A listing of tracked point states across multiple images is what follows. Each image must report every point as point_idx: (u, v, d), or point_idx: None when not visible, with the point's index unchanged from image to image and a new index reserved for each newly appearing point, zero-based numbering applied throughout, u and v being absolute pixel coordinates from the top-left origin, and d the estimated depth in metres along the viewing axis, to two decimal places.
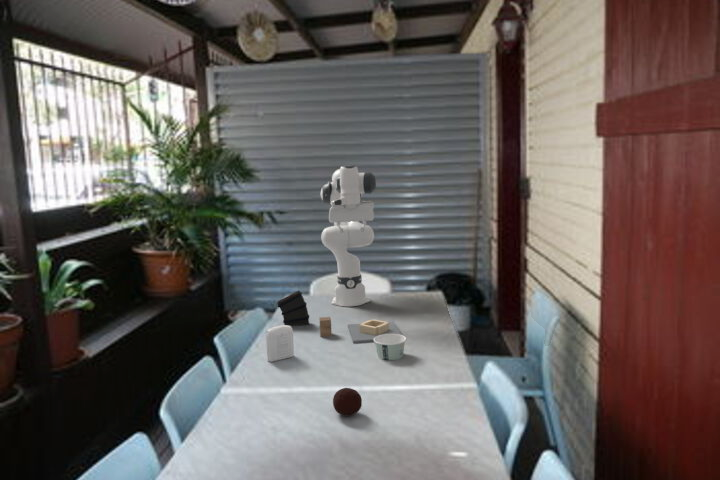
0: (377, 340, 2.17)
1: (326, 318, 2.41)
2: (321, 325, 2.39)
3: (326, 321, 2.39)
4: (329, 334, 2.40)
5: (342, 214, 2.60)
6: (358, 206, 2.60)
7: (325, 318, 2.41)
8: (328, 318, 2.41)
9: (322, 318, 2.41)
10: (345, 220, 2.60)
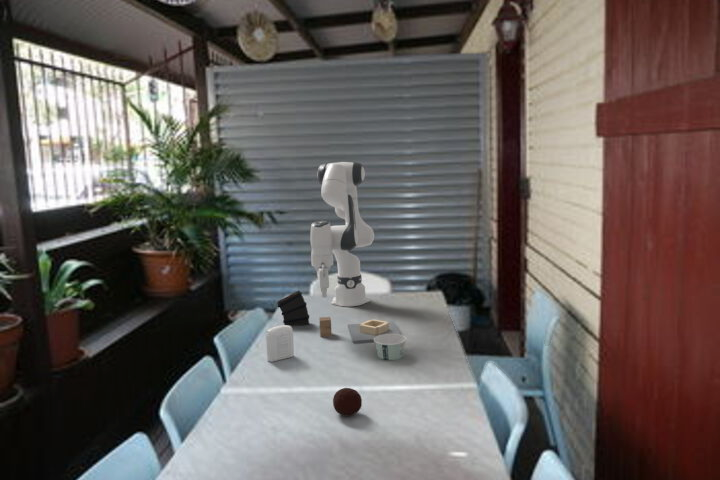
0: (377, 340, 2.17)
1: (326, 318, 2.41)
2: (321, 325, 2.39)
3: (326, 321, 2.39)
4: (329, 334, 2.40)
5: (318, 273, 2.42)
6: (318, 269, 2.34)
7: (325, 318, 2.41)
8: (328, 318, 2.41)
9: (322, 318, 2.41)
10: None
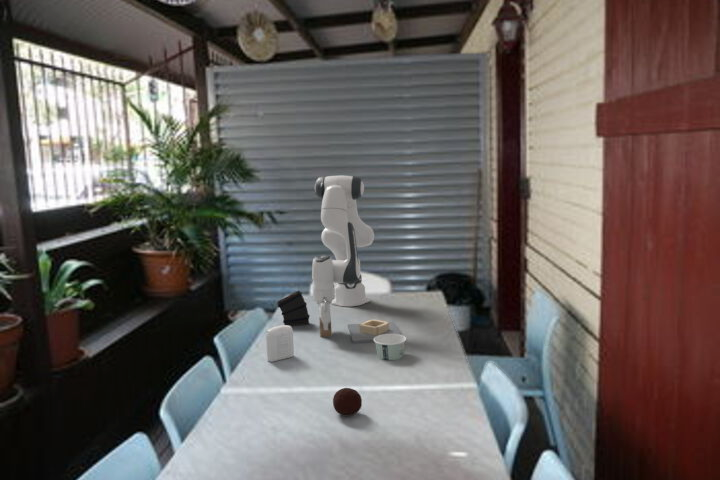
0: (377, 340, 2.17)
1: None
2: (321, 325, 2.39)
3: None
4: (329, 334, 2.40)
5: None
6: (320, 303, 2.37)
7: None
8: None
9: None
10: None
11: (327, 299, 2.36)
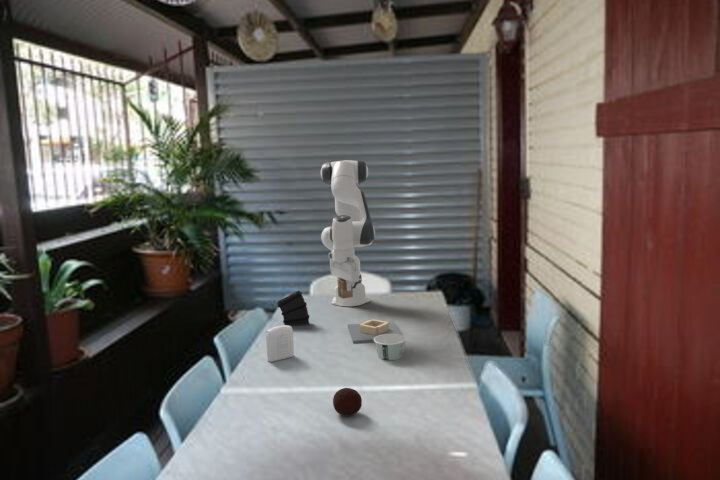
0: (377, 340, 2.17)
1: None
2: (343, 287, 2.36)
3: None
4: (350, 295, 2.38)
5: (336, 268, 2.41)
6: (343, 264, 2.34)
7: None
8: None
9: (342, 280, 2.38)
10: (337, 275, 2.40)
11: (351, 259, 2.34)
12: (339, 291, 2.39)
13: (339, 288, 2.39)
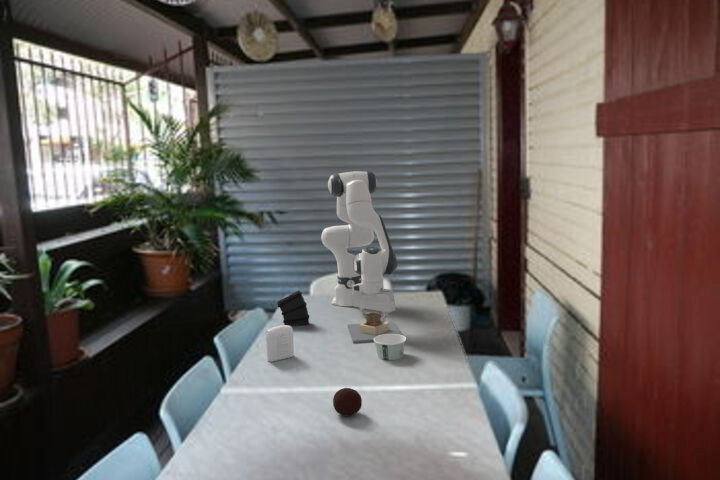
0: (377, 340, 2.17)
1: (374, 313, 2.42)
2: (375, 321, 2.39)
3: (378, 316, 2.40)
4: None
5: (362, 300, 2.41)
6: (376, 295, 2.36)
7: (373, 313, 2.41)
8: (375, 313, 2.42)
9: (372, 314, 2.40)
10: (365, 307, 2.41)
11: None
12: None
13: (369, 323, 2.40)
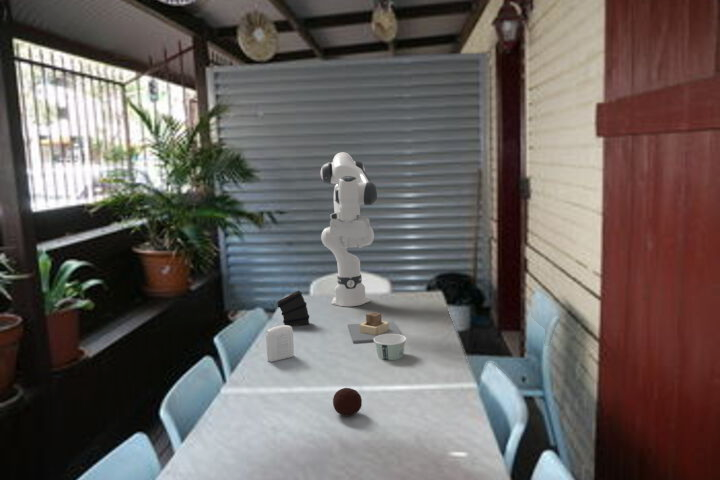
0: (377, 340, 2.17)
1: (374, 313, 2.42)
2: (375, 321, 2.39)
3: (378, 316, 2.40)
4: None
5: (340, 228, 2.50)
6: (353, 221, 2.45)
7: (373, 313, 2.41)
8: (375, 313, 2.42)
9: (372, 314, 2.40)
10: (342, 235, 2.50)
11: None
12: None
13: (369, 323, 2.40)
